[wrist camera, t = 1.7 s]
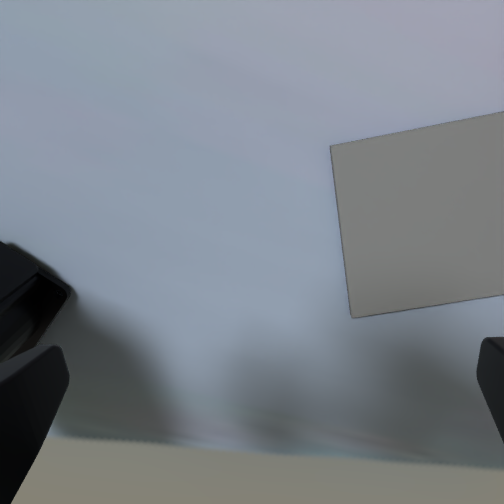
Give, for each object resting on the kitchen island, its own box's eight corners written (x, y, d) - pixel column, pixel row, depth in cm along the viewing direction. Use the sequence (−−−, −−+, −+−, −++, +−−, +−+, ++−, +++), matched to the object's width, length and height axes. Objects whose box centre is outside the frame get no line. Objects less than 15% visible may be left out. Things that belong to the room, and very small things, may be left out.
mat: (350, 314, 21) (351, 318, 21) (329, 145, 18) (331, 146, 18) (524, 286, 20) (529, 290, 20) (533, 105, 17) (539, 105, 17)
